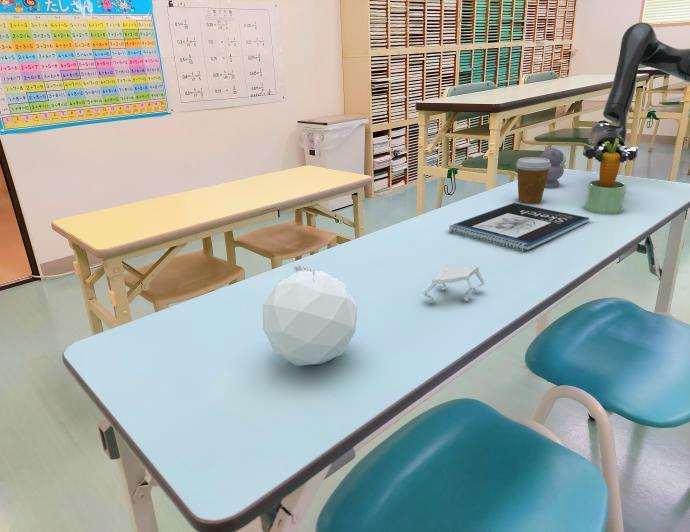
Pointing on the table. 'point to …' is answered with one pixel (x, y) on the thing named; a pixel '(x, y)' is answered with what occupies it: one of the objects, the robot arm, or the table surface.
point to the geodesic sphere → (309, 317)
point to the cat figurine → (553, 166)
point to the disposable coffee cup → (532, 178)
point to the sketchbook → (519, 226)
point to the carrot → (609, 165)
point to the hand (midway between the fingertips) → (611, 158)
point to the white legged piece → (455, 278)
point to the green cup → (605, 198)
